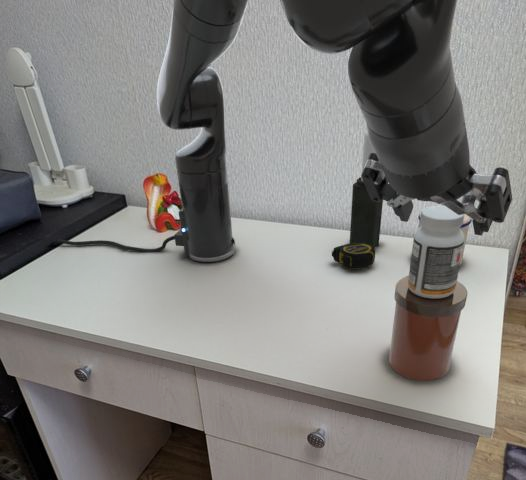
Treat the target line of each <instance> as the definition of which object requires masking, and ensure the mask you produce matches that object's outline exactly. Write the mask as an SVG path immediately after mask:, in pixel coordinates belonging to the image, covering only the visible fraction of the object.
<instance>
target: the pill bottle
mask: <svg viewBox="0 0 526 480" xmlns="http://www.w3.org/2000/svg"><path fill="white" fill-rule="evenodd" d="M421 211H422V212H421ZM421 211H420V213H421V217H420V222H421V224H422V226H421V227H419V228H418V227H417V229H416V231H415V232H414V234H413V241H412V248H411V255H410V262H409V263H410V264H409V270H408V271H409V272H408V276H409V277H408V287H409V289H410V291H411V292H413V293H414V294H416V295H418V296H420V297H424V298H429V299H440V298H445V297H447V296H450V295H451V294H452V293H453V292H454V291H455V288H456V283H457V281H458V279H459V278H458V276H459V271H460V266H461V265H460V260H461V255H462V250H463V244H464V234H463V232H462V231H461V230H460V227H461V226H462V224H463V221H464V214H463V215H458V214H456V213H455V212H453V211H452V210H450V209H449V208H448V207H446V206H443V205H439V204H437V206H436V205H430V206H426V207H424V208H423V209H422V210H421Z"/></svg>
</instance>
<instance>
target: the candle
mask: <svg viewBox="0 0 526 480" xmlns="http://www.w3.org/2000/svg"><path fill="white" fill-rule="evenodd" d="M362 148H363V149H362V161H361V162H362V164H361V173H362V172H363V170H364V167H365V165H366V162H367V160H368V158H369V155H370V154H371V153H375V150H374V148H373V146H372V143H371V141H370V138H369V134H368V130H367V129H366V130H365V132H364V134H363V146H362ZM351 193H352V195H351V209H350V210H351V211H350V229H349V244H350V243H354V242H364V243H367V244H371V245H372V246H373V247H374V248H375V249H376V248H377V247H379V245H380V235H381V225H382V216H383V206H384V200H382V199H381V202H374V201H372V200H371V198H370V196H369V194H368V191H367V189H366V186H365V184H364V182H363V179H362V177H361V176H360V177H358V178H356V182H354V183H353V184H352V192H351Z"/></svg>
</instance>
